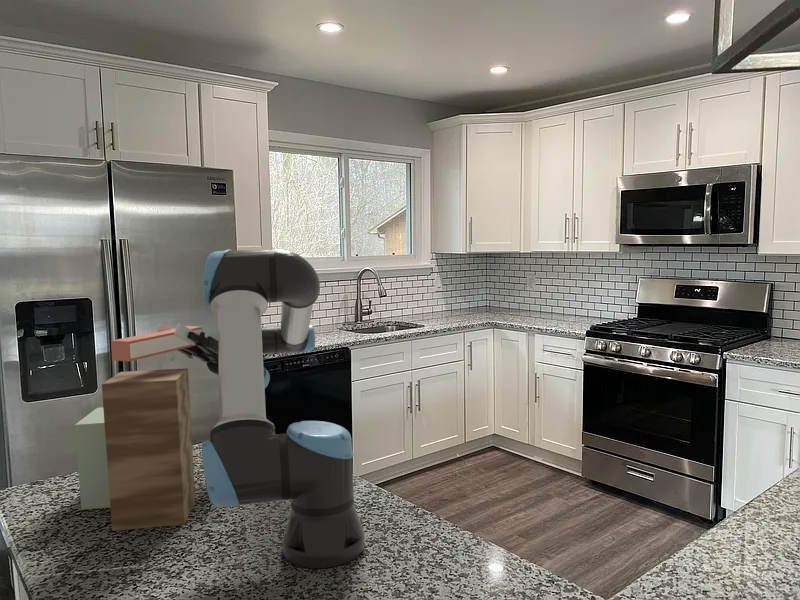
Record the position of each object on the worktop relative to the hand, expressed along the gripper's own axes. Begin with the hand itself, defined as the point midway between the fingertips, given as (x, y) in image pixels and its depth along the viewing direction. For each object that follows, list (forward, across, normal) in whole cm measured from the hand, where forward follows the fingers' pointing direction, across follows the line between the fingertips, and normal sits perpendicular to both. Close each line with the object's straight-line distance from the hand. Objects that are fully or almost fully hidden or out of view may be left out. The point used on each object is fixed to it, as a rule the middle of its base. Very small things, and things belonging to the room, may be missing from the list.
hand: (167, 328), depth 131 cm
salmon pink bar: (0, 0, -5) cm, 5 cm away
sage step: (-18, +15, -35) cm, 42 cm away
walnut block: (-13, -1, -38) cm, 40 cm away
